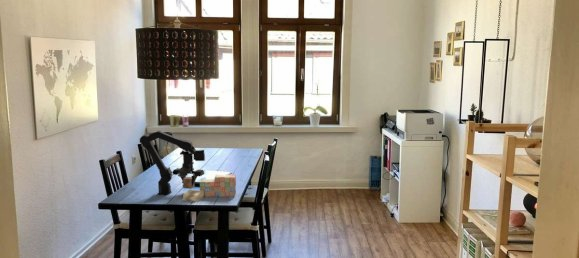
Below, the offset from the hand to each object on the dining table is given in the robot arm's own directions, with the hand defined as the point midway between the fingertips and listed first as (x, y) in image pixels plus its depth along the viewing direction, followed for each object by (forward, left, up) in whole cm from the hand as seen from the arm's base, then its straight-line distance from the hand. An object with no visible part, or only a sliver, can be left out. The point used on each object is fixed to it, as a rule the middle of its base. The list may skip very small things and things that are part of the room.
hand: (188, 185), depth 282 cm
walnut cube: (0, 0, -1) cm, 1 cm away
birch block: (+8, -10, -5) cm, 14 cm away
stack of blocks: (+19, 0, -5) cm, 20 cm away
